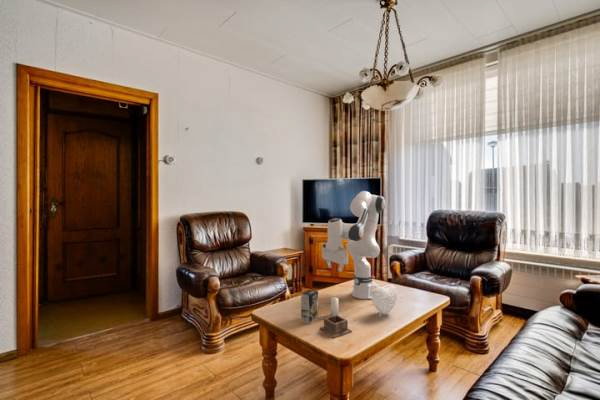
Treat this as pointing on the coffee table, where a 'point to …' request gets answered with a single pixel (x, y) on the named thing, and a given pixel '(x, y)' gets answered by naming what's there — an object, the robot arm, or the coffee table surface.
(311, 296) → the coffee box
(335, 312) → the paper roll
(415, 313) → the coffee table surface
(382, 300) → the decorative heart
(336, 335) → the walnut roll holder
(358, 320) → the coffee table surface
